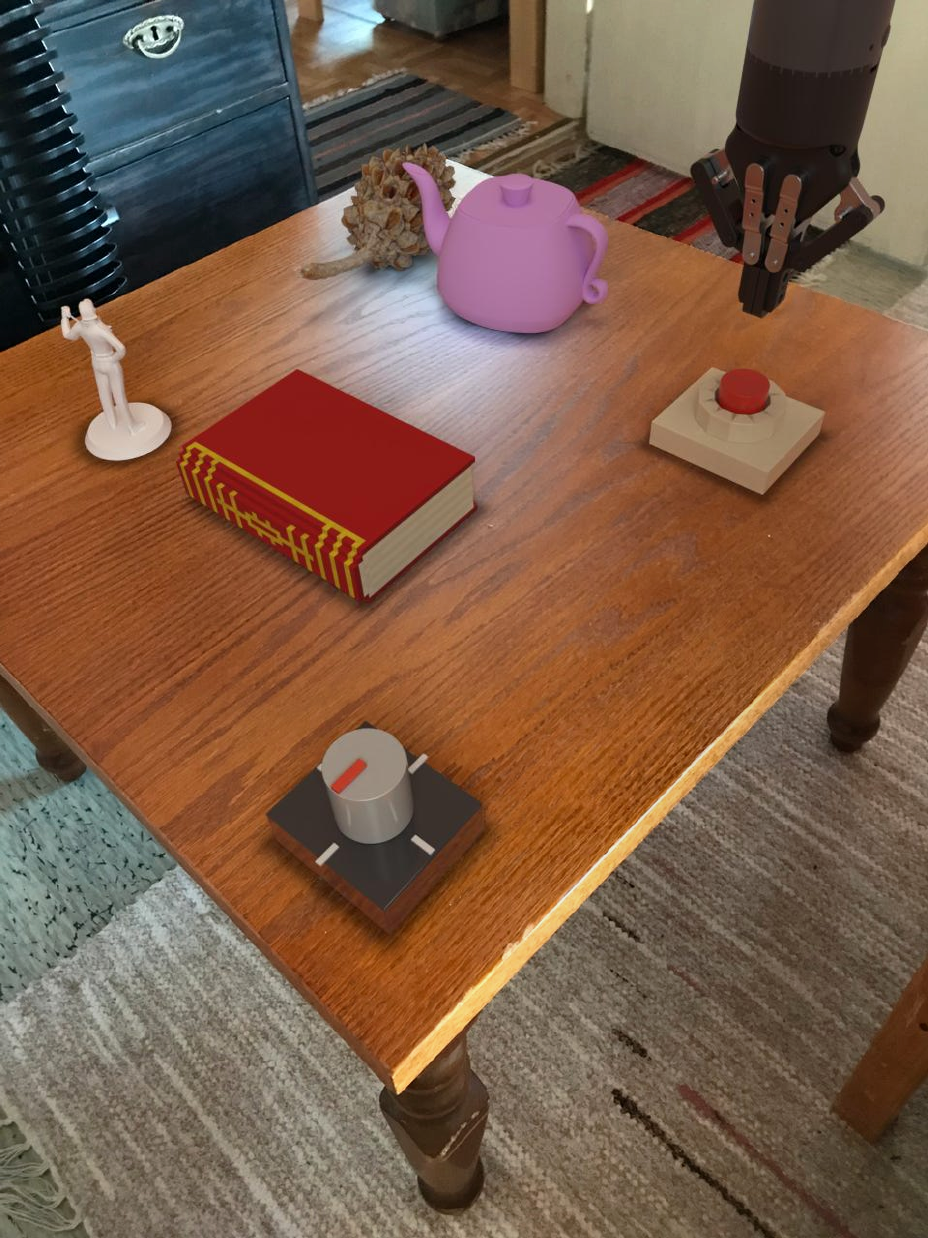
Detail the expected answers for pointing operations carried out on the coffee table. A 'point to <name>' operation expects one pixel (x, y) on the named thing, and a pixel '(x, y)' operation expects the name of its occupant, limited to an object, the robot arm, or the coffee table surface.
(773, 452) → the block
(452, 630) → the coffee table surface
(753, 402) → the button
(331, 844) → the panel
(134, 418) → the figurine
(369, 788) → the burner knob
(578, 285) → the teapot
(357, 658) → the coffee table surface
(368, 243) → the pine cone
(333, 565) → the book
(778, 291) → the robot arm
